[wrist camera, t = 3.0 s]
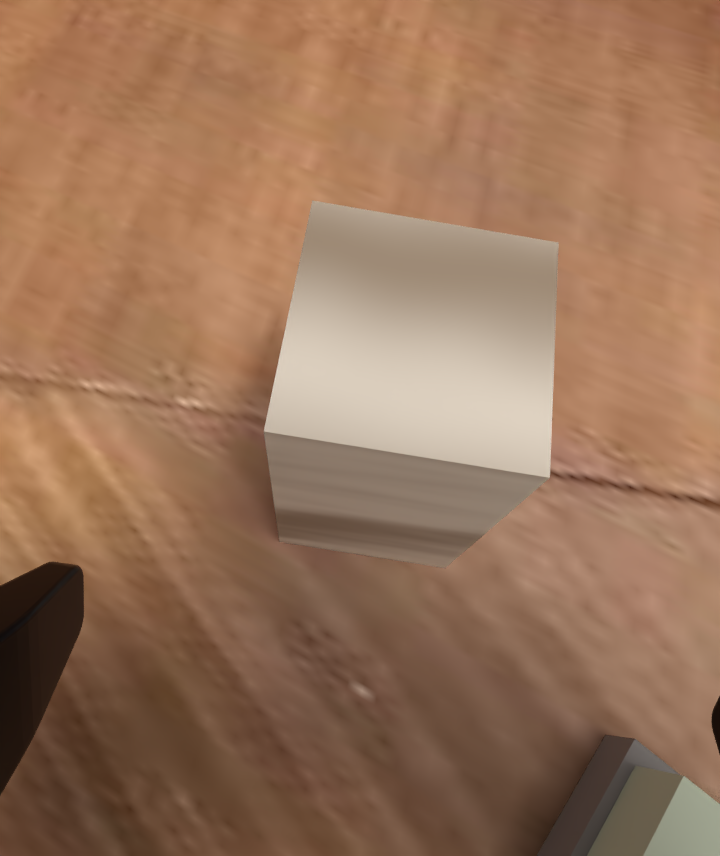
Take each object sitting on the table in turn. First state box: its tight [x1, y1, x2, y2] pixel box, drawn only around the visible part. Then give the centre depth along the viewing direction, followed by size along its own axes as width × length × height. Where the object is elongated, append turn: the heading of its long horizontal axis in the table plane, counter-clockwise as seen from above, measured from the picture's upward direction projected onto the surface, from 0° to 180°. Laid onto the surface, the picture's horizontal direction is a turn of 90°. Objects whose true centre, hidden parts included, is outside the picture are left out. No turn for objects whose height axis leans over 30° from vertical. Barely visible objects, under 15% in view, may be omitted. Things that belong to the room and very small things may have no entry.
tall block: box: [264, 201, 558, 568], centre depth 18 cm, size 6×6×10 cm
